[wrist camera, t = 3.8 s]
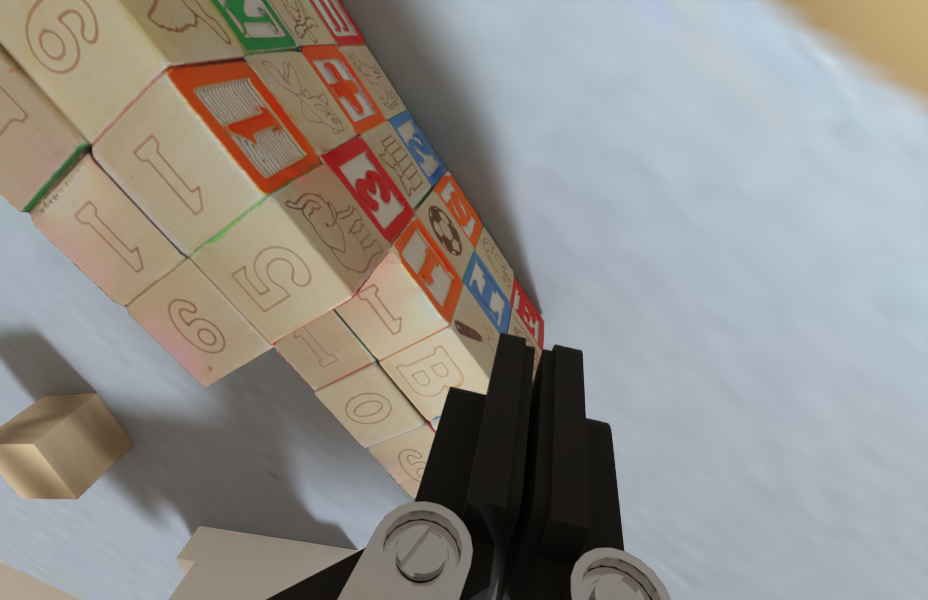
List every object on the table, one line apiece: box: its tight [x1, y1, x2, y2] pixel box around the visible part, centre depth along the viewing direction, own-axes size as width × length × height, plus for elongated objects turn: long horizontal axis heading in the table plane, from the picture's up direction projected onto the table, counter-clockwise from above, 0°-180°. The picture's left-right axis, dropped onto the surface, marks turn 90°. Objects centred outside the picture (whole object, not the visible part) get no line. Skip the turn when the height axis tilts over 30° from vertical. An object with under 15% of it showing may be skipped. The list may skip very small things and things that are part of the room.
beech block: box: [0, 393, 133, 499], centre depth 34 cm, size 5×5×5 cm
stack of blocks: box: [0, 0, 544, 498], centre depth 18 cm, size 21×6×12 cm, turn 34°
